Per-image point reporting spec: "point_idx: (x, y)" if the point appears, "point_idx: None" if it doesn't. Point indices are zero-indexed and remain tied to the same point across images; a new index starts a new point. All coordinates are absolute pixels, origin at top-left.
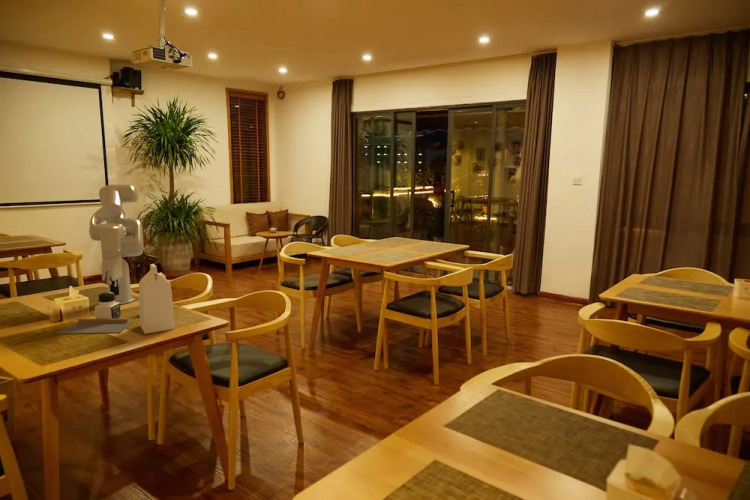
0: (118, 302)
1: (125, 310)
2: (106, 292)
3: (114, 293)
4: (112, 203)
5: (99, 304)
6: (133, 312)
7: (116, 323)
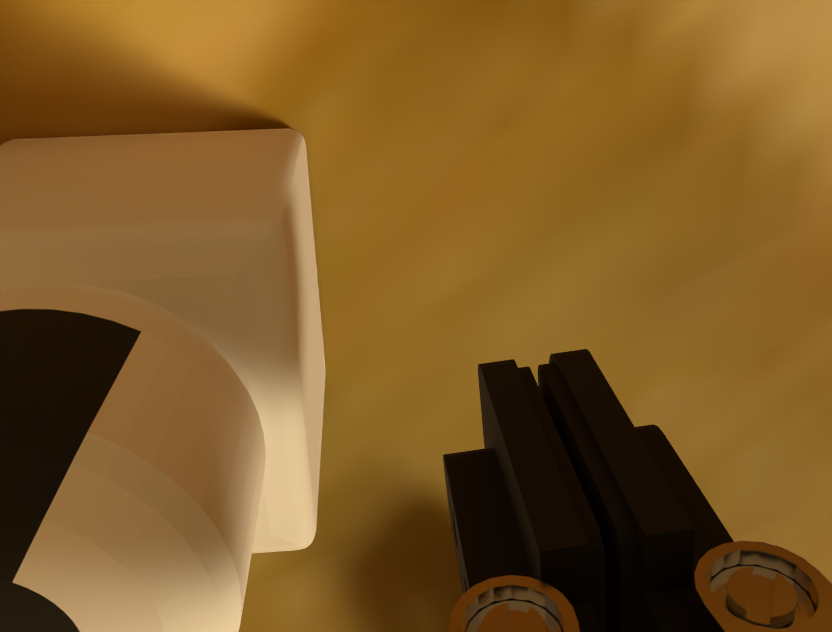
0: (279, 547)
1: (725, 223)
2: (73, 598)
3: (453, 521)
4: None
5: (6, 272)
6: None
7: None
